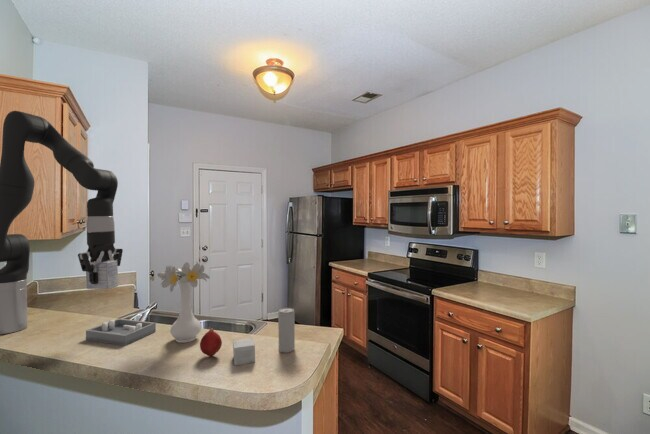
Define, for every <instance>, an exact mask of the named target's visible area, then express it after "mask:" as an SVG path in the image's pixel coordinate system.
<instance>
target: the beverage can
mask: <svg viewBox="0 0 650 434" xmlns="http://www.w3.org/2000/svg"><path fill="white" fill-rule="evenodd" d="M295 313H296V312H295V309H294V308H292V307H282V308H279V310H278V315H277V317H278V318H277V320H278V325H277V326H278V327H277V328H278V351H279V352H280V353H285V354H288V353H292V352H293V351H294V350H295V344H296V343H295V338H296V337H295V334H296V333H295V331H296V330H295V329H296V328H295V326H296V325H295V320H296V319H295V316H296V315H295Z"/></svg>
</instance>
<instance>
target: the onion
mask: <svg viewBox="0 0 650 434" xmlns="http://www.w3.org/2000/svg"><path fill="white" fill-rule="evenodd" d="M222 343H223V341H222V337H221V336H220V334H218V333H217V332H216V331H214V328H210V329H209V330H208V331H207V332H206V333H205V334H204V335H203V336H202V337H201V340H200V341H199V348H200V351H201V352H202V354H204V355H206V356H208V357H211V358H212V357H214V356H215V355H216V354H217V353H218V352H219V351H220V349H221V348H222V346H223V344H222Z"/></svg>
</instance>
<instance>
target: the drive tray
mask: <svg viewBox="0 0 650 434" xmlns="http://www.w3.org/2000/svg"><path fill="white" fill-rule="evenodd" d="M156 329H157V328H156V322H153V321H152V322H151V321H141V320H134V319H127V318H118V319H110V320H109V321H108V322H107V321H106V322H102V323H101V324H100V325H97V326H95V327H91V328H90V329H86V330H85V340H86V341H92V342H93V341H94V342H99V343H104V344H105V343H106V344H112V345H113V344H114V345H119V346H127V345H129V344H131V343H134V342H136V341H138V340H141V339H143V338H145V337H147V336H149V335H151V334H153V333H156V331H157V330H156Z"/></svg>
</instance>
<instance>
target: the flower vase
mask: <svg viewBox="0 0 650 434" xmlns="http://www.w3.org/2000/svg"><path fill="white" fill-rule="evenodd" d="M165 266H166V267H165V271H164V272H163V271H160V272H158V273H157V277H158V278H160V279H161V281H162V282H161V283H160V286H161V287H162V288H163V289H165V288H168V287H169V291H170V293H172V292H173V291H174V289H175V287H176V286H177V285H179V289H180V308H179V314H178V317H177V319H176V320H175V321H174V322H173V323H172V325H171V326H170V329H169V333H170V335H171V337H173V338H174V339H175V342H176V343H179V344H183V343H185V344H186V343H190V342H193V341H195V340H196V339H197V337H198V335H199V334H200V333H201V332H202V324H201V322H200V320H199V319H197V318H196V317H195V315H194V313H193V310H192V295H191V293H192V288H197V286H198V280H204V281H205V282H208V280H210V278H211V277H210V276H209V274H207V273H205V265H204V264H201V265H200V264H199V263H198V261H196V263H195V264H194V265H193V266H192V267H191V266H190V263H189V262H188V261H187V262H184V263H183V266H182V267H181V268H176V267H175V266H174V263H171V264H169V265H165ZM177 283H178V284H177Z"/></svg>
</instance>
